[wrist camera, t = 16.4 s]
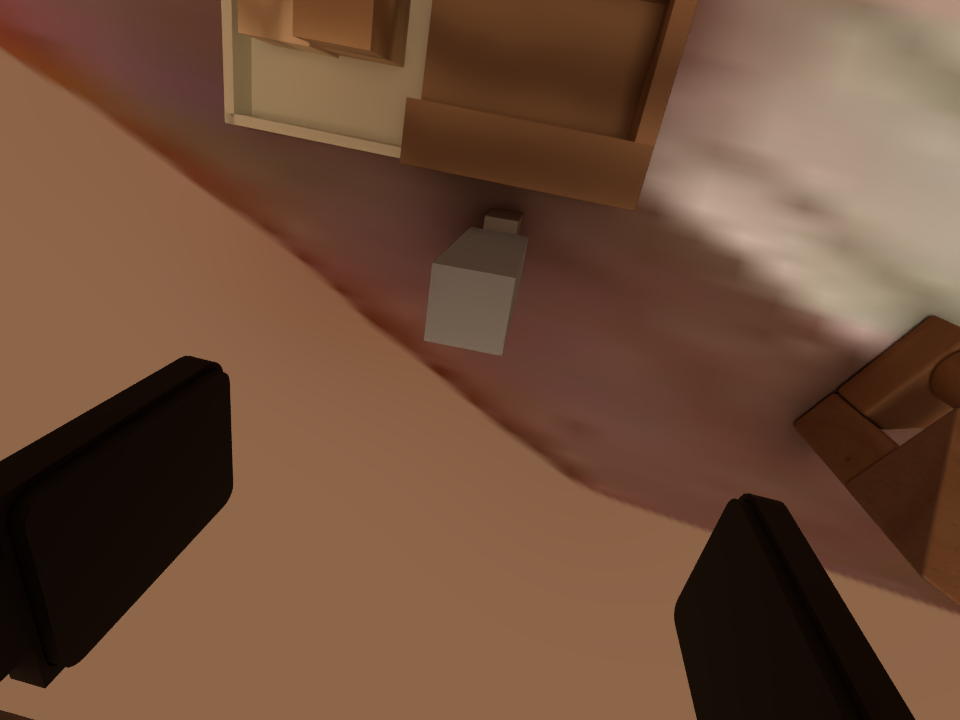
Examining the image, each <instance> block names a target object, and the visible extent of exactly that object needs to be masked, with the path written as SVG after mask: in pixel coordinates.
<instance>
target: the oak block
mask: <svg viewBox="0 0 960 720" xmlns="http://www.w3.org/2000/svg"><path fill="white" fill-rule="evenodd" d="M410 4H411V0H293V31H292V36H294V37H297V38H299V39H301V40H304V41H306V42H309V43H311V44H314V45H316V46H319V47H321V48H323V49H326V50H328V51H331V52H333V53H336V54H338V55H341V56H346V57H351V58H356V59H361V60H367V61H372V62H377V63H382V64H387V65H392V66H397V67H403V68H404V63H405V54H406V44H407V34H408V24H409V14H410Z"/></svg>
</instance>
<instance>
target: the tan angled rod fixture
mask: <svg viewBox="0 0 960 720" xmlns="http://www.w3.org/2000/svg"><path fill="white" fill-rule="evenodd" d="M838 393H839V394H835V393H833V394H831V395H829V396H828V397H827V398H825V399H824V400H823V401H822V402H820V403H819V404H818V405H817V406H815V407H814V408H813V409H811V410H810V411H809V412H808V413H806V414H805V415H804V416H802V417H801V418H800V419H799V420H797V421H796V422H795V424H794V425H795V428H796V429H797V431H798V432H799V433H800V434H801V435H802V437H803V438H804V439H805V440H806V441H807V442H808V444H809V445H810V446H811V447H812V448H813V450H814V451H815V452H816V453H817V454H818V456H819V457H820V458H821V459H822V460H823V461H824V463H825V464H826V465H827V466H828V467H829V469H830V470H831V471H832V472H833V473H834V474H835V476H836V477H837V478H838V479H839V480H840V482H841V483H842V484H843V485H844V486H845V487H846V489H847V490H848V491H849V492H850V493H851V494H852V496H853V497H854V498H855V499H856V500H857V502H858V503H859V504H860V505H861V506H862V507H863V509H864V510H865V511H866V512H867V513H868V515H869V516H870V517H871V518H872V519H873V521H874V522H875V523H876V524H877V525H878V526H879V528H880V529H881V530H882V531H883V532H884V534H885V535H886V536H887V537H888V538H889V540H890V541H891V542H892V543H893V544H894V545H895V547H896V548H897V549H898V550H899V551H900V553H901V554H902V555H903V556H904V557H905V558H906V560H907V561H908V562H909V563H910V564H911V566H912V567H913V568H914V569H915V570H916V572H917V573H918V574H919V575H920V576H921V577H922V578H923V579H924V580H925V581H927V582H928V583H929V584H930V585H932V586H933V587H934V588H936V589H937V590H938V591H939V592H941V593H942V594H943V595H944V596H946V597H947V598H948V599H950V600H951V601H952V602H953V603H955V604H956V605H957V606H959V607H960V327H959V326H957V325H955V324H952V323H950V322H948V321H946V320H943V319H941V318H939V317H936V316H932V317H929V318H928V319H927V320H926V321H924V322H923V323H922V324H920V325H919V326H918V327H917V328H915V329H914V330H913V331H911V332H910V333H909V334H908V335H906V336H905V337H904V338H903V339H901V340H900V341H899V342H897V343H896V344H895V345H894V346H892V347H891V348H890V349H889V350H887V351H886V352H885V353H883V354H882V355H881V356H880V357H878V358H877V359H876V360H875V361H873V362H872V363H871V364H869V365H868V366H867V367H866V368H864V369H863V370H862V371H860V372H859V373H858V374H857V375H855V376H854V377H853V378H852V379H850V380H849V381H848V382H846V383H845V384H844V385H843V386H841V387H840V388H839V389H838ZM924 427H927V428H925V429H924V430H923V431H921V432H920V433H918V434H917V435H915V436H914V437H913V438H911V439H910V440H908V441H907V442H905V443H904V444H902V445H901V446H899V445H898V444H897V443H896V442H895V441H893V440H892V439H891V438H890V437H889V436H888V435H887V434H885V433H884V432H883V431H882V430H881V429H905V428H924Z"/></svg>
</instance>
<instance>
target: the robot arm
mask: <svg viewBox="0 0 960 720" xmlns="http://www.w3.org/2000/svg"><path fill="white" fill-rule="evenodd" d="M231 437H232V436H231V406H230V381H229V376H228V375H227V374H226V373H224V372H223V369H222V367H221V366H220V364H218V363H216V362H212V361H208V360H204V359H199V358H196V357H192V356H184V357H181V358H179V359H177V360H176V361H174V362H172V363H171V364H169V365H167V366H165V367H164V368H162V369H160V370H159V371H157V372H155V373H153V374H151V375H150V376H148V377H146V378H145V379H143V380H141V381H139V382H137V383H136V384H134V385H132V386H131V387H129V388H127V389H125V390H124V391H122V392H120V393H118V394H117V395H115V396H113V397H111V398H110V399H108V400H106V401H104V402H103V403H101V404H99V405H98V406H96V407H94V408H92V409H90V410H89V411H87V412H85V413H83V414H82V415H80V416H78V417H77V418H75V419H73V420H71V421H70V422H68V423H66V424H64V425H63V426H61V427H59V428H57V429H56V430H54V431H52V432H51V433H49V434H47V435H45V436H43V437H42V438H40V439H38V440H37V441H35V442H33V443H31V444H30V445H28V446H26V447H24V448H23V449H21V450H19V451H17V452H16V453H14V454H12V455H10V456H9V457H7V458H5V459H3V460H2V461H0V681H2V680H3V679H4V678H5V677H6V676H7V675H8V674H9V675H10V678H11V679H15V680H18V681H22V682H25V683H29V684H32V685H35V686H39V687H42V688H46V687H47V686H48V685H49V684H50V683H51V682H52V681H53V679H54V678H55V677H56V676H57V675H58V674H59V673H60V672H61V671H62V670H63V669H64V668H65V667H71V666H74V665H76V664H77V663H79V662H80V661H81V660H82V659H83V658H84V657H85V656H86V655H87V654H88V653H89V652H90V651H91V650H92V648H94V646H95V645H96V644H97V643H98V642H99V641H100V640H101V639H102V638H103V637H104V636H105V635H106V633H107V632H108V631H109V630H110V629H111V628H112V627H113V626H114V625H115V623H117V622H118V620H119V619H120V618H121V617H122V616H123V615H124V614H125V613H126V612H127V611H128V610H129V608H130V607H131V606H132V605H133V604H134V603H135V602H136V601H137V600H138V599H139V598H140V597H141V595H142V594H143V593H144V592H145V591H146V590H147V589H148V588H149V587H150V586H151V585H152V584H153V582H154V581H155V580H156V579H157V578H158V577H159V576H160V575H161V574H162V573H163V572H164V570H165V569H166V568H167V567H168V566H169V565H170V564H171V563H172V562H173V561H174V560H175V558H176V557H177V556H178V555H179V554H180V553H181V552H182V551H183V550H184V549H185V548H186V547H187V546H188V544H189V543H190V542H191V541H192V540H193V539H194V538H195V537H196V536H197V535H198V534H199V533H200V531H201V530H202V529H203V528H204V527H205V526H206V525H207V524H208V523H209V522H210V521H211V519H212V518H213V517H214V516H215V515H216V514H217V513H218V512H219V511H220V510H221V509H222V508H223V506H224V505H225V504H226V503H227V501H228V499H229V498H230V495H231V493H232V489H233V466H232V440H231V439H232V438H231ZM674 620H675V626H676V630H677V635H678V639H679V644H680V648H681V652H682V657H683V661H684V665H685V670H686V674H687V678H688V683H689V687H690V691H691V696H692V700H693V704H694V709H695V713H696V717H697V720H915V718H914V717H913V715H912V713H911V712H910V710H909V708H908V707H907V705H906V703H905V702H904V700H903V698H902V697H901V695H900V693H899V692H898V690H897V689H896V687H895V685H894V684H893V682H892V680H891V679H890V677H889V675H888V674H887V672H886V670H885V669H884V667H883V665H882V664H881V662H880V661H879V659H878V657H877V656H876V654H875V652H874V651H873V649H872V647H871V646H870V644H869V643H868V641H867V639H866V637H865V636H864V635H863V632H862V631H861V629H860V627H859V626H858V624H857V623H856V621H855V619H854V618H853V616H852V614H851V613H850V611H849V609H848V608H847V606H846V604H845V603H844V601H843V599H842V598H841V596H840V594H839V593H838V591H837V589H836V588H835V586H834V585H833V583H832V581H831V580H830V578H829V576H828V575H827V573H826V571H825V570H824V568H823V566H822V565H821V563H820V561H819V560H818V558H817V556H816V555H815V553H814V552H813V550H812V548H811V547H810V545H809V543H808V542H807V540H806V538H805V537H804V535H803V533H802V532H801V530H800V528H799V527H798V525H797V523H796V522H795V520H794V519H793V517H792V515H791V514H790V512H789V510H788V509H787V507H786V506H785V505H784V503H782V502H780V501H777V500H773V499H769V498H765V497H761V496H757V495H753V494H749V493H747V494H743V495H742V496H741V497H740V498H739V499H731V500H730V501H729V502H728V504H727V505H726V507H725V509H724V511H723V513H722V515H721V517H720V519H719V521H718V523H717V525H716V527H715V528H714V530H713V532H712V534H711V536H710V538H709V540H708V542H707V544H706V546H705V548H704V550H703V552H702V554H701V555H700V557H699V559H698V561H697V564H696V565H695V567H694V569H693V571H692V573H691V575H690V577H689V579H688V581H687V583H686V584H685V586H684V588H683V590H682V592H681V594H680V596H679V598H678V600H677V602H676V606H675V612H674ZM0 720H33V719H30V718H26V717H23V716H19V715H16V714H13V713H9V712H5V711H1V710H0Z"/></svg>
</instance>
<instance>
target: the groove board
mask: <svg viewBox="0 0 960 720" xmlns="http://www.w3.org/2000/svg"><path fill="white" fill-rule="evenodd" d="M697 3H698V0H432V8H431V17H430V26H429V34H428V43H427V51H426V60H425V69H424V77H423V86H422V94H421V100H420V99H415V98H409V97H406V106H405V116H404V125H403V135H402V144H401V154H400V163H403V164H408V165H412V166H417V167H422V168H427V169H432V170H437V171H442V172H447V173H451V174H456V175H461V176H466V177H471V178H476V179H481V180H486V181H490V182H495V183H500V184H505V185H510V186H515V187H520V188H525V189H529V190H534V191H539V192H544V193H549V194H554V195H559V196H564V197H568V198H573V199H578V200H583V201H588V202H593V203H598V204H603V205H607V206H612V207H617V208H622V209H627V210H632V211H635V209H636V205H637V202H638V199H639V195H640V192H641V189H642V185H643V182H644V179H645V175H646V172H647V169H648V166H649V162H650V159H651V156H652V152H653V149H654V146H655V142H656V139H657V136H658V132H659V129H660V126H661V122H662V119H663V116H664V112H665V109H666V106H667V103H668V99H669V96H670V93H671V89H672V86H673V83H674V79H675V76H676V73H677V69H678V66H679V63H680V59H681V56H682V53H683V50H684V46H685V43H686V40H687V36H688V33H689V30H690V26H691V23H692V20H693V16H694V13H695V10H696V6H697Z"/></svg>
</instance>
